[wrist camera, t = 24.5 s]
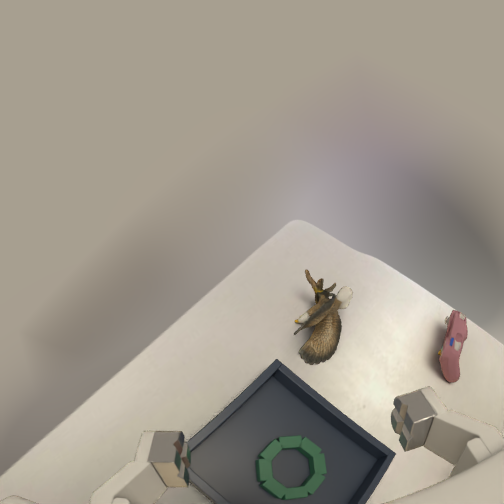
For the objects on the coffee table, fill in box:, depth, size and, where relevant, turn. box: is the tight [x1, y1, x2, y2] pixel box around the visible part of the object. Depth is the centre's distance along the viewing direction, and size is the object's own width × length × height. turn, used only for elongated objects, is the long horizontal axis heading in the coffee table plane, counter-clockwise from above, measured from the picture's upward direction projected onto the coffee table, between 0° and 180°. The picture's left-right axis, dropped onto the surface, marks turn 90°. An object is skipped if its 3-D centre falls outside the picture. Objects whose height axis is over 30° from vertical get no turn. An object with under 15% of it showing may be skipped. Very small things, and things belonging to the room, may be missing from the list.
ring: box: [256, 435, 327, 500], centre depth 24 cm, size 6×6×1 cm
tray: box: [186, 359, 396, 504], centre depth 24 cm, size 17×15×2 cm
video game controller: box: [438, 310, 468, 383], centre depth 37 cm, size 10×5×7 cm, turn 143°
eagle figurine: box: [294, 270, 353, 365], centre depth 35 cm, size 8×7×9 cm
